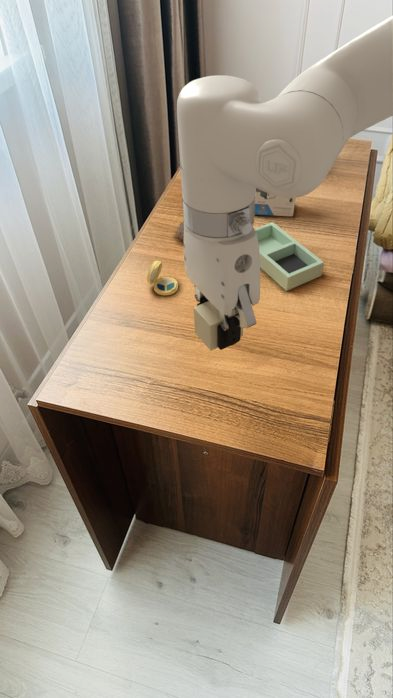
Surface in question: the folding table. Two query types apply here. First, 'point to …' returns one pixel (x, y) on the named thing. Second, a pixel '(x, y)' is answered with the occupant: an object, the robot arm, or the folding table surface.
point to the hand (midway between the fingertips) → (218, 332)
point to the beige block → (208, 323)
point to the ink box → (273, 204)
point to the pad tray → (286, 257)
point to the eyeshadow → (161, 280)
